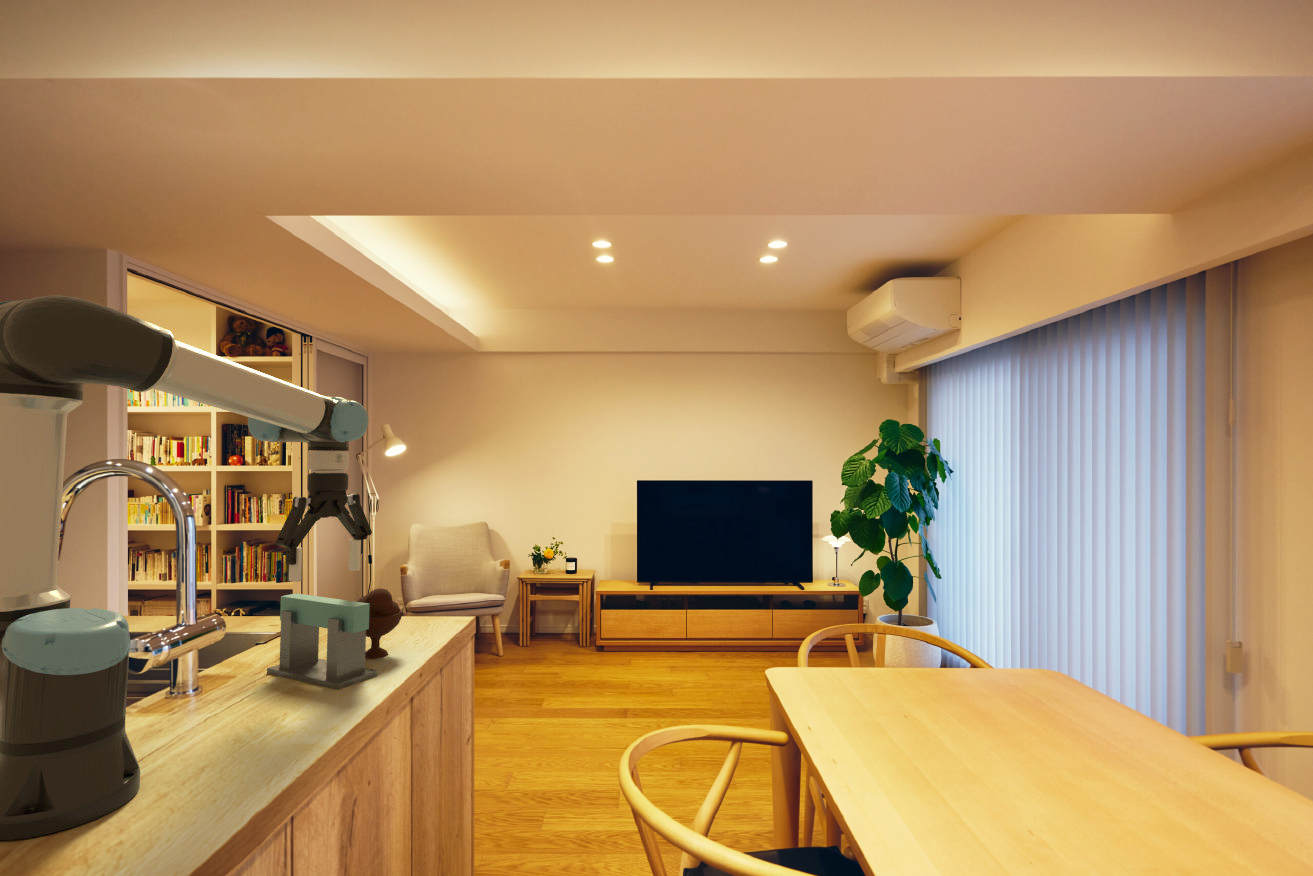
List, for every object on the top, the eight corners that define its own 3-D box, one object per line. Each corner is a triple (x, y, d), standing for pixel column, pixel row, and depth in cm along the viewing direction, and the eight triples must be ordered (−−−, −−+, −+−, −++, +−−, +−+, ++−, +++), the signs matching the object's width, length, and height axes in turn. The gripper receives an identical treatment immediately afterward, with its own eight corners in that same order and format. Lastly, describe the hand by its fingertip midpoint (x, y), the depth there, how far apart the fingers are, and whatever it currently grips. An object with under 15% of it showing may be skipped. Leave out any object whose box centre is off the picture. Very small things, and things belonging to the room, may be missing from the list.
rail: (368, 629, 127) (369, 603, 127) (353, 633, 123) (354, 607, 124) (295, 616, 136) (296, 593, 136) (280, 620, 133) (280, 596, 133)
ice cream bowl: (409, 649, 147) (411, 584, 148) (384, 664, 136) (386, 593, 137) (366, 647, 148) (368, 582, 149) (337, 662, 137) (340, 592, 138)
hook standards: (338, 689, 121) (340, 622, 121) (266, 673, 130) (269, 611, 130) (376, 675, 129) (378, 613, 129) (307, 661, 138) (309, 602, 138)
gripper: (282, 473, 118) (279, 588, 118) (390, 471, 141) (388, 567, 140) (256, 472, 121) (253, 584, 121) (366, 470, 144) (364, 564, 143)
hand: (326, 575), depth 130 cm, fingers open, 13 cm apart
